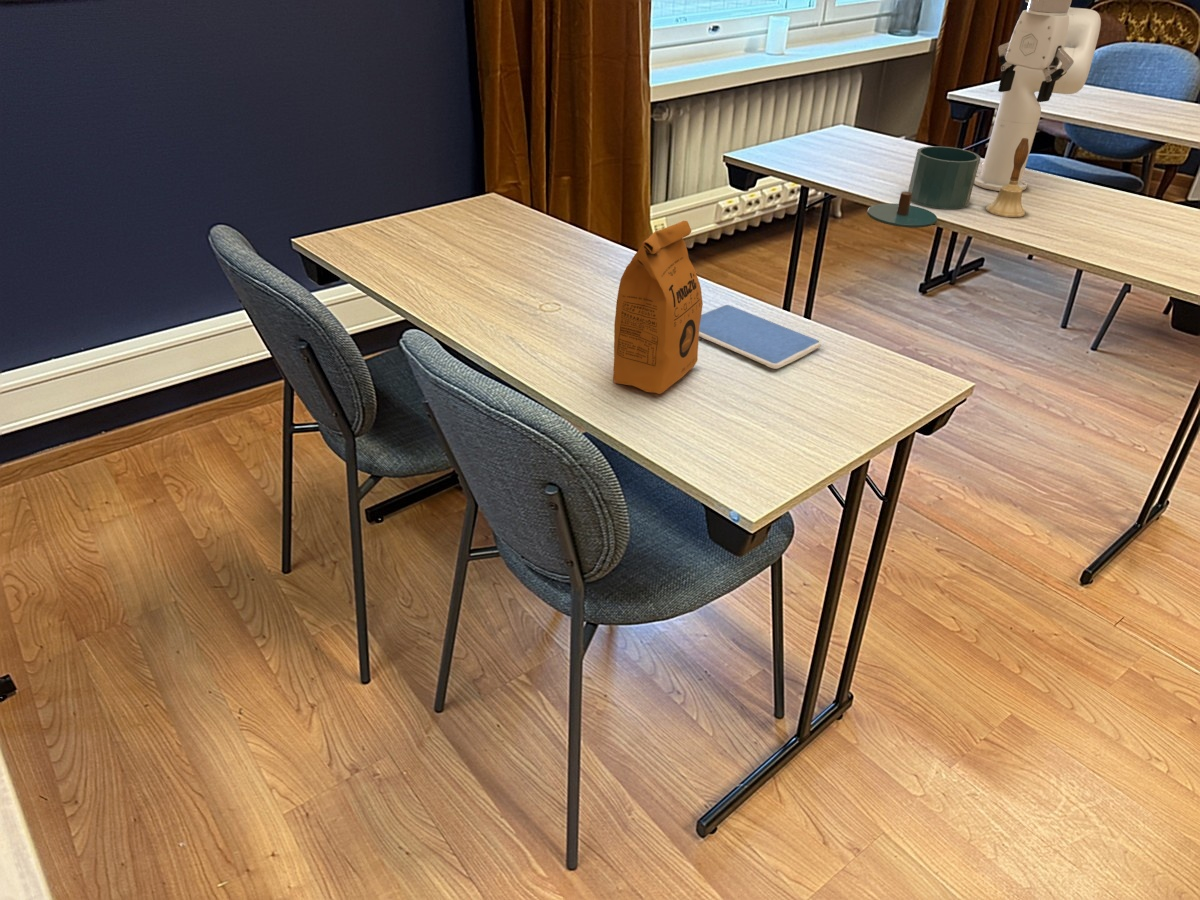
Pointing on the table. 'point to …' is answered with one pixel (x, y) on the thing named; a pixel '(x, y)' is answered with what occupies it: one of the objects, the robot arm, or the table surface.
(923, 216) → the tin lid
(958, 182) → the tin
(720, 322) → the tablet
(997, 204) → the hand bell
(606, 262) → the table surface
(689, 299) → the coffee package
